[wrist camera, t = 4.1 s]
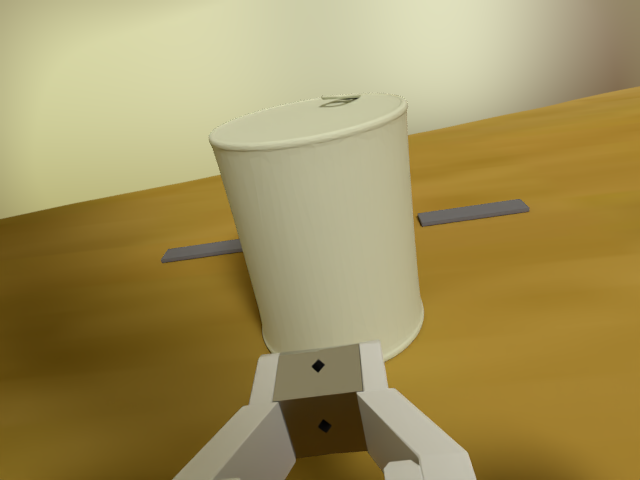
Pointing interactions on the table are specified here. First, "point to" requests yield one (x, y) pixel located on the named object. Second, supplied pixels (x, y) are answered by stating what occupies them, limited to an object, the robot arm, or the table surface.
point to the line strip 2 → (472, 212)
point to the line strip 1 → (202, 250)
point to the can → (326, 220)
